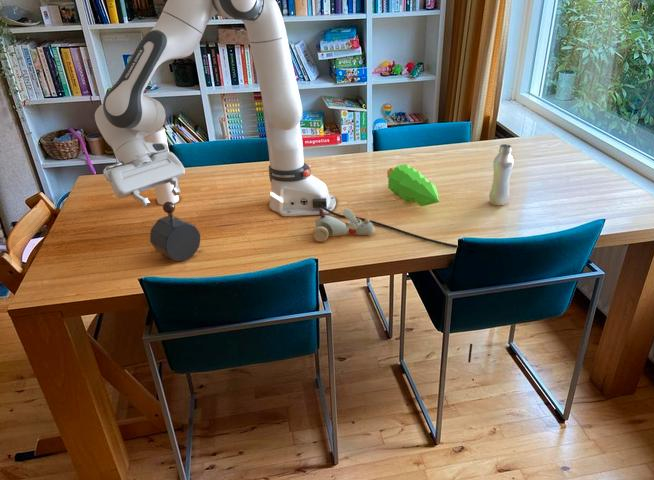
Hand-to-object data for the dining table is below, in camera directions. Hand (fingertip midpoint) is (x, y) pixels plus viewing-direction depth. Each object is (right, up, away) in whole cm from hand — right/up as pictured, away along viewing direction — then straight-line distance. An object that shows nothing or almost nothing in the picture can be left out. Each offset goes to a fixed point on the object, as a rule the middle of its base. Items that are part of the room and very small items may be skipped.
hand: (163, 199), depth 150 cm
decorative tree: (+71, +4, +37) cm, 80 cm away
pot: (+2, -15, +8) cm, 17 cm away
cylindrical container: (-13, +5, +40) cm, 42 cm away
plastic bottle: (+100, +3, +35) cm, 106 cm away
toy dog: (+48, -9, +17) cm, 52 cm away
